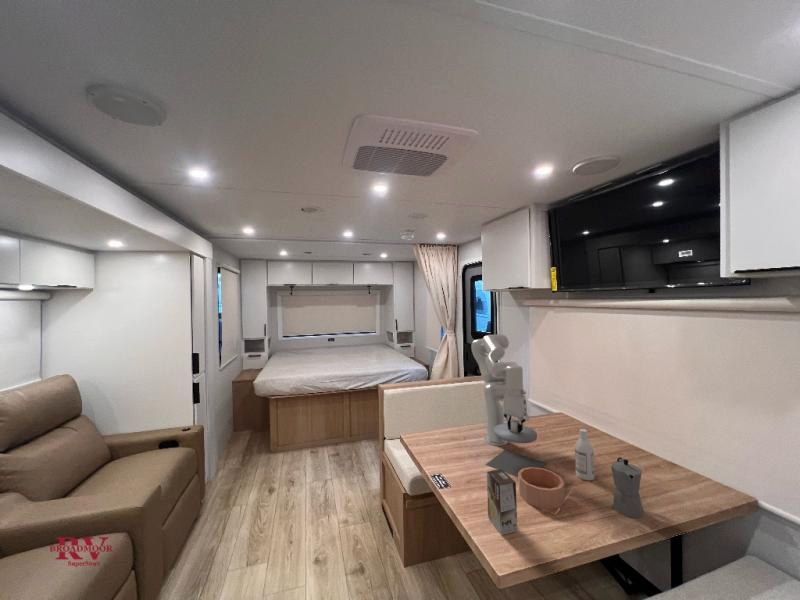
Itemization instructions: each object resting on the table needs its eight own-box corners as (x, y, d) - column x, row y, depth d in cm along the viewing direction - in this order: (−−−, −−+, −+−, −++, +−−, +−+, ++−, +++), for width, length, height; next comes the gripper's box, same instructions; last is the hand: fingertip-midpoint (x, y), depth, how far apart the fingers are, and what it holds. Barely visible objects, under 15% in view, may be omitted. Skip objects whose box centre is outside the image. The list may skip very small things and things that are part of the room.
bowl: (528, 479, 131) (527, 463, 131) (569, 495, 120) (568, 477, 120) (512, 496, 119) (511, 478, 120) (556, 515, 108) (555, 495, 109)
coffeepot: (651, 525, 103) (648, 470, 103) (617, 518, 106) (615, 466, 107) (634, 498, 117) (633, 451, 118) (606, 493, 121) (604, 447, 121)
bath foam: (588, 472, 136) (586, 427, 137) (598, 481, 129) (596, 433, 130) (572, 472, 136) (571, 427, 137) (581, 481, 129) (580, 433, 130)
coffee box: (518, 531, 101) (517, 482, 101) (501, 535, 99) (499, 485, 100) (503, 513, 110) (501, 468, 110) (486, 516, 108) (485, 471, 109)
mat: (505, 450, 158) (505, 449, 158) (547, 463, 144) (547, 463, 144) (485, 465, 143) (485, 464, 143) (530, 482, 129) (530, 481, 129)
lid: (504, 422, 158) (504, 410, 158) (543, 433, 145) (542, 420, 145) (487, 434, 144) (486, 421, 144) (527, 447, 131) (527, 433, 131)
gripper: (535, 393, 142) (536, 432, 142) (501, 386, 153) (501, 423, 153) (529, 397, 136) (529, 438, 136) (494, 390, 148) (494, 427, 148)
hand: (515, 429), depth 145 cm, fingers closed on lid, 4 cm apart
